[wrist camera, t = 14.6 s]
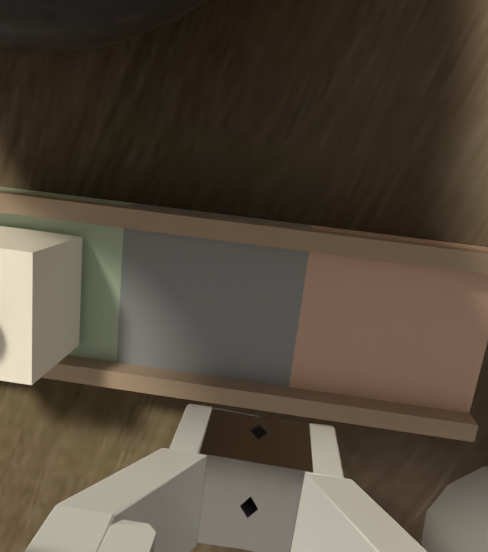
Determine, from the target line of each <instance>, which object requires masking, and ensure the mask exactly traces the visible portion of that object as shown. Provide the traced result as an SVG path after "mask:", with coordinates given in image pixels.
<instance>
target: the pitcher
mask: <svg viewBox="0 0 488 552" xmlns="http://www.w3.org/2000/svg"><path fill="white" fill-rule="evenodd" d="M207 1H209V0H0V53H20V54H57V53H67V52H77V51H86V50H96V49H103V48H106V47H109V46H111V45H114V44H117V43H120V42H123V41H125V40H128V39H131V38H134V37H136V36H139V35H142V34H145V33H147V32H150V31H153V30H156V29H159V28H162V27H164V26H167V25H170V24H173V23H176V22H177V21H179V20H180V19H182V18H183V17H185V16H186V15H188V14H189V13H191V12H192V11H194V10H195V9H197V8H198V7H200V6H201V5H203V4H204V3H206V2H207Z"/></svg>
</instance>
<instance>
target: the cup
mask: <svg viewBox="0 0 488 552" xmlns="http://www.w3.org/2000/svg"><path fill="white" fill-rule="evenodd" d="M421 544H422V547H423V548H424V549H425V550H426V551H427V552H488V466H485V467H481V468H479V469H477V470H475V471H473V472H472V473H470V474H468V475H466V476H464V477H462V478H460V479H458V480H456V481H454V482H452V483H450V484H448V485H447V486H446V488H445V489H444V490H443V491H442V493H441V494H440V495H439V496H438V498H437V499H436V500H435V501H434V503H433V504H432V505H431V506H430V508H429V509H428V510H427V511H426V517H425V523H424V528H423V534H422V540H421Z"/></svg>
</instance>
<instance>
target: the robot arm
mask: <svg viewBox="0 0 488 552" xmlns="http://www.w3.org/2000/svg"><path fill="white" fill-rule="evenodd" d="M196 543H204V544H211V545H217V546H224V547H231V548H238V549H244V550H249V551H254V552H427V551H426V550H425V549H424V548H423V547H422V546H421V545H420V544H419V543H418V542H417V541H416V540H415V539H414V538H413V537H411V536H410V535H409V534H408V533H407V532H406V531H405V530H404V529H403V528H402V527H401V526H400V525H399V524H398V523H397V522H396V521H395V520H394V519H393V518H392V517H391V516H389V515H388V514H387V513H386V512H385V511H384V510H383V509H382V508H381V507H380V506H379V505H378V504H377V503H376V502H375V501H374V500H373V499H372V498H371V497H370V496H369V495H368V494H366V493H365V492H364V491H363V490H362V489H361V488H360V487H359V486H358V485H357V484H356V483H355V482H354V481H353V480H352V479H347V478H344V474H343V468H342V463H341V458H340V453H339V447H338V442H337V437H336V432H335V428H334V427H333V426H331V425H322V424H314V423H306V422H299V421H291V420H284V419H277V418H269V417H262V416H259V415H254V414H248V413H242V412H237V411H231V410H226V409H220V408H215V407H214V408H212V407H211V406H204V405H197V404H188V405H187V406H186V409H185V411H184V414H183V416H182V418H181V421H180V423H179V426H178V428H177V431H176V433H175V436H174V438H173V441H172V443H171V446H170V448H169V449H166V448H161V449H159V450H157V451H155V452H154V453H152V454H150V455H148V456H146V457H144V458H142V459H141V460H139V461H137V462H135V463H133V464H131V465H129V466H128V467H126V468H124V469H122V470H120V471H118V472H116V473H114V474H113V475H111V476H109V477H107V478H105V479H103V480H101V481H100V482H98V483H96V484H94V485H92V486H90V487H88V488H87V489H85V490H83V491H81V492H79V493H77V494H75V495H74V496H72V497H70V498H68V499H66V500H64V501H62V502H60V503H59V504H57V505H55V507H54V508H53V510H52V511H51V513H50V514H49V516H48V517H47V519H46V520H45V522H44V523H43V525H42V526H41V528H40V529H39V531H38V532H37V534H36V535H35V537H34V538H33V540H32V541H31V543H30V544H29V545H28V547H27V548H26V550H25V551H24V552H190V551H191V550H192V549H193V548H194V547H195V546H196Z"/></svg>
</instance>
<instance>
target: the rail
mask: <svg viewBox="0 0 488 552" xmlns="http://www.w3.org/2000/svg"><path fill="white" fill-rule="evenodd" d="M0 226H5V227H13V228H21V229H29V230H36V231H44V232H52V233H59V234H67V235H75V236H83V244H82V274H81V305H80V335H79V346H78V347H76V348H75V349H74V350H73V351H72V352H71V353H69V354H68V355H67V356H66V357H65V358H63V359H62V360H61V361H60V362H59V363H57V364H56V365H55V366H54V367H53V368H52V369H50V370H49V371H48V372H47V373H46V374H44V375H43V376H42V377H41V378H46V379H53V380H59V381H66V382H73V383H80V384H86V385H93V386H100V387H106V388H113V389H120V390H127V391H133V392H140V393H147V394H154V395H160V396H167V397H174V398H180V399H187V400H194V401H201V402H207V403H214V404H221V405H227V406H234V407H241V408H248V409H254V410H261V411H268V412H274V413H281V414H288V415H295V416H301V417H308V418H315V419H322V420H328V421H335V422H342V423H348V424H355V425H362V426H369V427H375V428H382V429H389V430H395V431H402V432H409V433H416V434H422V435H429V436H436V437H442V438H449V439H456V440H463V441H469V442H475V438H476V434H477V430H478V427H479V425H478V424H477V422H476V421H475V420H474V419H473V417H472V416H471V415H470V409H471V405H472V401H473V397H474V393H475V389H476V385H477V381H478V377H479V373H480V370H481V366H482V362H483V358H484V354H485V350H486V346H487V342H488V247H484V246H475V245H467V244H459V243H451V242H443V241H435V240H427V239H419V238H411V237H403V236H395V235H387V234H379V233H371V232H363V231H355V230H347V229H339V228H331V227H323V226H315V225H306V224H298V223H290V222H282V221H274V220H266V219H258V218H250V217H242V216H234V215H226V214H218V213H210V212H202V211H194V210H186V209H178V208H170V207H162V206H154V205H146V204H137V203H129V202H121V201H113V200H105V199H97V198H89V197H81V196H73V195H65V194H57V193H49V192H41V191H33V190H25V189H17V188H9V187H1V186H0Z"/></svg>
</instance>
